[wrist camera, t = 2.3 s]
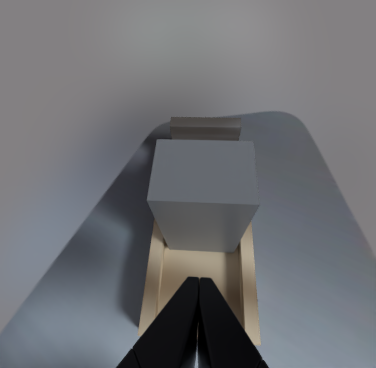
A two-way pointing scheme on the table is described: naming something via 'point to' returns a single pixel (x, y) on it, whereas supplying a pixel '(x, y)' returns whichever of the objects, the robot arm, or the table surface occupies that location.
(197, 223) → the grey rectangular box
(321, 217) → the table surface
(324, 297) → the table surface
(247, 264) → the sleeve track
